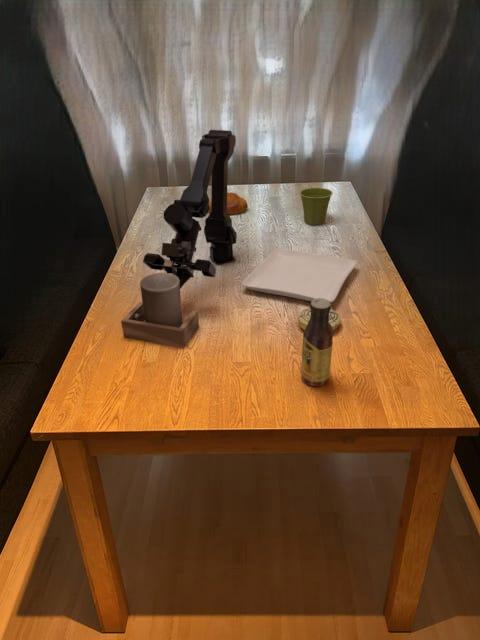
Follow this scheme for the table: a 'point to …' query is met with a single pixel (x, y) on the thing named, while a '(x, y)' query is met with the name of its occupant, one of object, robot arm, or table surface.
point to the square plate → (300, 275)
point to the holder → (158, 329)
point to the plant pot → (315, 204)
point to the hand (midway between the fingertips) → (172, 296)
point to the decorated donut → (306, 314)
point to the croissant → (234, 204)
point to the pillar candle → (162, 299)
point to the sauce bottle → (317, 344)
